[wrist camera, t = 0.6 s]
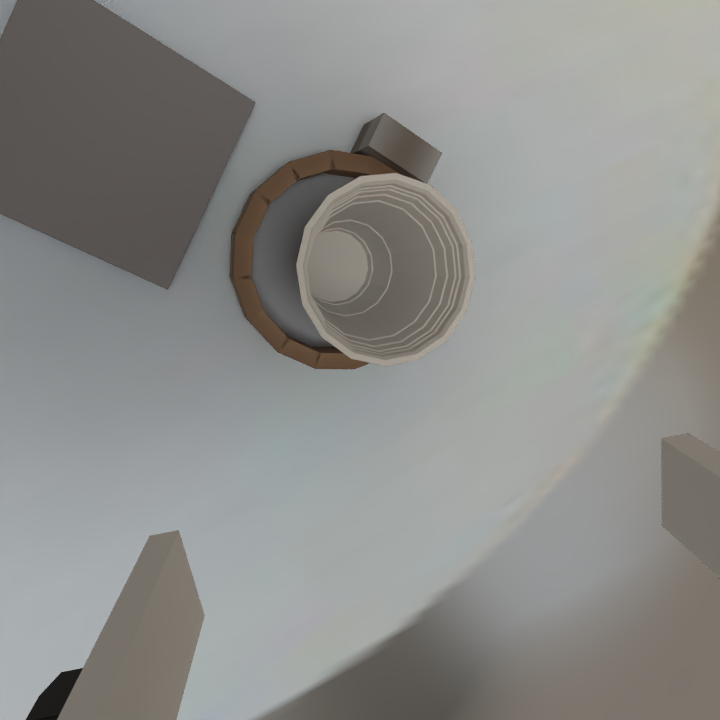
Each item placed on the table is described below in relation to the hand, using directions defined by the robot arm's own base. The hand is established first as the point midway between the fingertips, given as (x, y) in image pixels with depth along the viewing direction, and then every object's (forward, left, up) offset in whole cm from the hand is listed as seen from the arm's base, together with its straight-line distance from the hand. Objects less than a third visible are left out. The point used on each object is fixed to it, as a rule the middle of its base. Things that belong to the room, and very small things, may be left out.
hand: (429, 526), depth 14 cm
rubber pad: (-15, +8, -28) cm, 33 cm away
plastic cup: (+2, +8, -29) cm, 30 cm away
